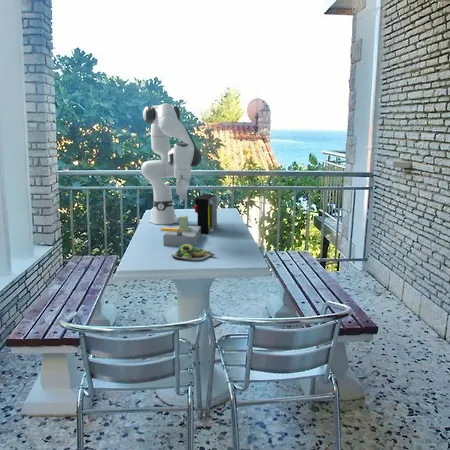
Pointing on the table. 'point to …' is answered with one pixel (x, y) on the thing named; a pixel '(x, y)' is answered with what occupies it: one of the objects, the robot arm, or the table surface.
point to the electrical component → (206, 212)
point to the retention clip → (173, 230)
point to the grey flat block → (182, 237)
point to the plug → (184, 223)
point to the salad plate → (191, 253)
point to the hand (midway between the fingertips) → (183, 200)
